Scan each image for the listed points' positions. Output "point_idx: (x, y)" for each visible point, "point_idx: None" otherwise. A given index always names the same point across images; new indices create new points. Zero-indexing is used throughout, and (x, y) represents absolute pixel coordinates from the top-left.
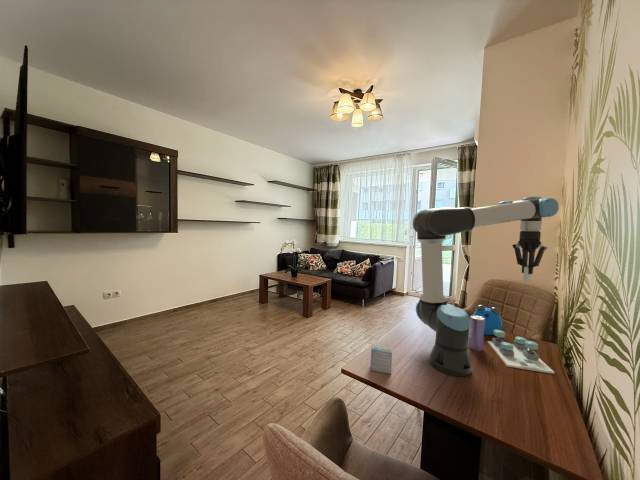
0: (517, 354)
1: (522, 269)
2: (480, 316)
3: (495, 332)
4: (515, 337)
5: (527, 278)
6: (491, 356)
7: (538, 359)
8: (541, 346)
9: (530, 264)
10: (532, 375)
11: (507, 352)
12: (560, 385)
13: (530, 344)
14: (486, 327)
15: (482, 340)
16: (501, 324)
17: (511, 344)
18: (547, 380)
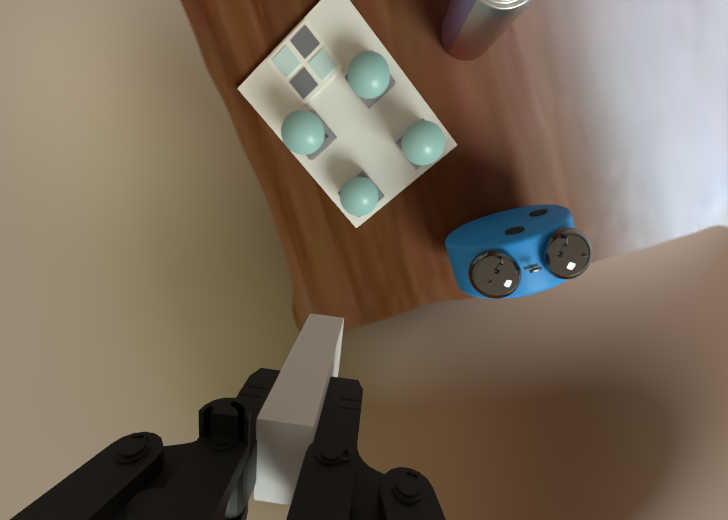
0: (347, 119)
1: (352, 414)
2: (503, 6)
3: (432, 122)
4: (375, 188)
5: (303, 332)
6: (400, 19)
7: None
8: (331, 285)
9: (195, 466)
10: (268, 3)
11: None
12: (204, 18)
13: (299, 111)
14: (494, 220)
15: (447, 11)
16: (447, 245)
17: (358, 90)
18: (233, 14)
